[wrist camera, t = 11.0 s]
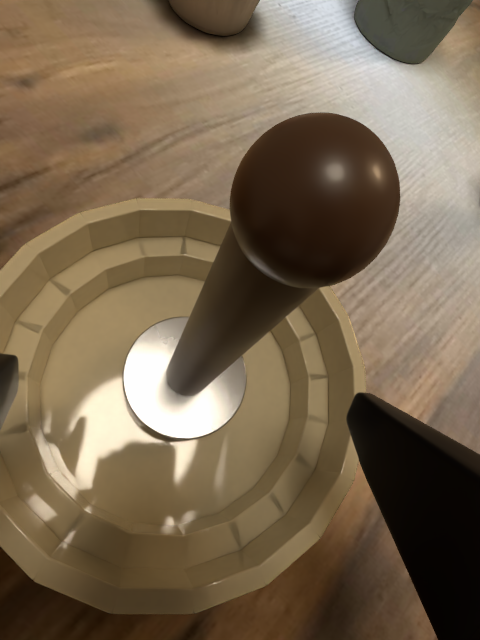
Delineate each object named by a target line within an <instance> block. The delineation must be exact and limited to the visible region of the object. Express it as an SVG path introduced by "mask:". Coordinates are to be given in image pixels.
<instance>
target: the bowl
mask: <svg viewBox="0 0 480 640" xmlns="http://www.w3.org/2000/svg"><path fill="white" fill-rule="evenodd" d="M230 223H231V216H230V210H228V209H224V208H221V207H217V206H214V205H210V204H206V203H203V202H199V201H196V200H190V199H166V198H136V199H130V200H126V201H122V202H118V203H115V204H111V205H107V206H103V207H99V208H95V209H91V210H87V211H83V212H80V213H77V214H75V215H74V216H72V217H70V218H68V219H67V220H65V221H63V222H62V223H60V224H58V225H56V226H55V227H53V228H51V229H50V230H48V231H46V232H44V233H43V234H41V235H39V236H37V237H36V238H34V239H32V240H31V241H29V242H27V243H26V245H25V244H24V245H23V246H22V247H21V248H20V249H19V250H18V251H17V253H16V254H15V255H14V256H13V257H12V258H11V259H10V260H9V261H8V262H7V264H6V265H5V266H4V267H3V268H2V269H1V270H0V353H2V354H11V355H16V356H17V357H18V361H19V385H18V391H17V395H16V397H15V399H14V401H13V404H12V406H11V408H10V410H9V412H8V415H7V417H6V419H5V421H4V424H3V426H2V428H1V430H0V547H1V548H2V549H3V550H4V551H5V552H6V553H7V554H8V555H9V556H10V557H11V558H12V560H13V561H14V562H15V563H16V564H17V565H18V566H19V567H20V568H21V569H22V570H23V571H24V572H25V573H26V574H27V575H28V576H29V577H30V579H34V582H36V583H38V584H40V585H43V586H45V587H47V588H50V589H52V590H55V591H57V592H59V593H62V594H64V595H66V596H69V597H71V598H73V599H76V600H78V601H81V602H83V603H85V604H88V605H90V606H92V607H95V608H97V609H100V610H102V611H104V612H107V613H109V614H111V613H112V614H193V613H194V614H196V613H199V612H201V611H204V610H206V609H209V608H211V607H214V606H217V605H219V604H222V603H224V602H227V601H229V600H232V599H234V598H237V597H240V596H242V595H245V594H247V593H250V592H252V591H255V590H258V589H260V588H263V587H265V585H268V584H269V583H270V582H272V581H273V580H274V579H275V578H276V577H277V576H278V575H280V574H281V573H282V572H283V571H284V570H285V569H286V568H288V567H289V566H290V565H291V564H292V563H293V562H294V561H296V560H297V559H298V558H299V557H300V556H301V555H302V554H304V553H305V552H306V551H307V550H308V549H309V548H310V547H312V546H313V545H314V544H315V543H316V542H317V541H318V540H319V539H320V538H321V537H322V535H323V533H324V532H325V530H326V528H327V526H328V525H329V523H330V521H331V520H332V518H333V516H334V515H335V513H336V511H337V509H338V508H339V506H340V504H341V503H342V501H343V499H344V498H345V496H346V494H347V492H348V491H349V489H350V487H351V486H352V484H353V481H354V479H355V475H356V470H357V466H358V462H359V458H358V455H357V452H356V449H355V446H354V443H353V440H352V437H351V435H350V432H349V429H348V426H347V422H346V416H347V413H348V410H349V408H350V405H351V403H352V401H353V398H354V396H355V395H356V394H357V393H359V392H363V393H366V375H365V368H364V367H365V365H364V362H363V359H362V356H361V352H360V349H359V346H358V343H357V340H356V337H355V334H354V330H353V327H352V324H351V321H350V318H349V317H348V314H347V312H346V311H345V309H344V308H343V306H342V304H341V303H340V301H339V300H338V298H337V297H336V295H335V293H334V292H333V290H332V289H331V287H330V286H326V287H321V288H319V289H318V290H316V291H315V292H314V293H313V294H312V295H311V296H310V297H308V298H307V299H306V300H305V301H304V302H303V303H302V304H300V305H299V306H298V307H297V308H296V309H295V310H294V311H292V312H291V313H290V314H289V315H288V316H287V317H285V318H284V319H283V320H282V321H281V322H280V323H279V324H277V325H276V326H275V327H274V328H273V329H272V330H271V331H269V332H268V333H267V334H266V335H265V336H264V337H263V338H261V339H260V340H259V341H258V342H257V343H256V344H255V345H253V346H252V347H251V348H250V349H249V350H248V351H247V352H245V353H244V354H243V355H242V356H243V359H244V362H245V366H246V373H247V384H246V391H245V395H244V398H243V401H242V403H241V406H240V407H239V409H238V411H237V412H236V414H235V415H234V416H233V418H232V419H231V420H230V421H229V422H228V423H227V424H226V425H225V426H223V427H222V428H221V429H219V430H218V431H216V432H214V433H212V434H210V435H208V436H205V437H202V438H198V439H194V440H188V441H172V440H166V439H163V438H160V437H157V436H155V435H153V434H151V433H150V432H148V431H147V430H145V429H144V428H143V427H142V426H141V425H140V424H139V423H138V422H137V421H136V420H135V419H134V417H133V416H132V414H131V413H130V411H129V409H128V407H127V404H126V401H125V397H124V392H123V382H122V374H123V366H124V362H125V359H126V356H127V354H128V351H129V349H130V348H131V346H132V344H133V343H134V341H135V340H136V339H137V338H138V337H139V336H140V335H141V334H142V333H143V332H144V331H145V330H146V329H148V328H149V327H150V326H152V325H154V324H156V323H158V322H160V321H163V320H165V319H169V318H173V317H190V314H191V312H192V310H193V307H194V305H195V303H196V301H197V298H198V296H199V294H200V292H201V289H202V287H203V285H204V282H205V280H206V278H207V276H208V273H209V271H210V269H211V266H212V264H213V262H214V260H215V257H216V255H217V253H218V251H219V248H220V246H221V244H222V241H223V239H224V237H225V235H226V232H227V230H228V228H229V225H230Z"/></svg>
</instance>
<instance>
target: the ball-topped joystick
mask: <svg viewBox="0 0 480 640" xmlns="http://www.w3.org/2000/svg"><path fill="white" fill-rule="evenodd" d="M399 205H400V184H399V178H398V173H397V170H396V167H395V163H394V161H393V159H392V157H391V155H390V153H389V151H388V150H387V148H386V147H385V145H384V144H383V142H382V141H381V140H380V139H379V138H378V137H377V135H376V134H375V133H373V132H372V131H371V130H370V129H369V128H367V127H366V126H364V125H363V124H361V123H360V122H358V121H356V120H354V119H351V118H349V117H345V116H342V115H339V114H334V113H307V114H303V115H298V116H295V117H292V118H289V119H287V120H285V121H283V122H281V123H279V124H277V125H275V126H274V127H272V128H271V129H269V130H268V131H267V132H265V133H264V134H263V135H262V136H261V137H260V138H259V139H258V140H257V141H256V142H255V143H254V144H253V145H252V146H251V147H250V149H249V150H248V151H247V153H246V154H245V156H244V158H243V159H242V161H241V163H240V165H239V167H238V169H237V172H236V174H235V177H234V180H233V184H232V189H231V195H230V216H231V223H230V225H229V228H228V230H227V232H226V235H225V237H224V239H223V241H222V244H221V246H220V248H219V251H218V253H217V255H216V257H215V260H214V262H213V264H212V266H211V269H210V271H209V273H208V276H207V278H206V280H205V282H204V285H203V287H202V289H201V292H200V294H199V296H198V298H197V301H196V303H195V305H194V307H193V310H192V312H191V314H190V317H173V318H169V319H165V320H163V321H160V322H158V323H156V324H154V325H152V326H150V327H149V328H148V329H146V330H145V331H144V332H143V333H142V334H141V335H140V336H139V337H138V338H137V339H136V340H135V341H134V343H133V344H132V346H131V348H130V349H129V351H128V354H127V356H126V359H125V362H124V366H123V374H122V382H123V392H124V397H125V401H126V404H127V407H128V409H129V411H130V413H131V414H132V416H133V417H134V419H135V420H136V421H137V422H138V423H139V424H140V425H141V426H142V427H143V428H144V429H145V430H147V431H148V432H150V433H151V434H153V435H155V436H157V437H160V438H163V439H166V440H172V441H188V440H194V439H198V438H202V437H205V436H208V435H210V434H212V433H214V432H216V431H218V430H219V429H221V428H222V427H223V426H225V425H226V424H227V423H228V422H229V421H230V420H231V419H232V418H233V416H234V415H235V414H236V412H237V411H238V409H239V407H240V406H241V403H242V401H243V398H244V395H245V391H246V384H247V373H246V366H245V362H244V359H243V356H242V355H243V354H244V353H245V352H247V351H248V350H249V349H250V348H251V347H252V346H253V345H255V344H256V343H257V342H258V341H259V340H260V339H261V338H263V337H264V336H265V335H266V334H267V333H268V332H269V331H271V330H272V329H273V328H274V327H275V326H276V325H277V324H279V323H280V322H281V321H282V320H283V319H284V318H285V317H287V316H288V315H289V314H290V313H291V312H292V311H294V310H295V309H296V308H297V307H298V306H299V305H300V304H302V303H303V302H304V301H305V300H306V299H307V298H308V297H310V296H311V295H312V294H313V293H314V292H315V291H316V290H318V289H319V288H321V287H326V286H331V285H334V284H337V283H340V282H342V281H344V280H347V279H349V278H351V277H353V276H354V275H356V274H357V273H359V272H360V271H362V270H363V269H365V268H366V267H367V266H368V265H369V264H370V263H371V262H372V261H373V260H374V259H375V258H376V257H377V256H378V254H379V253H380V252H381V250H382V249H383V248H384V246H385V245H386V243H387V241H388V239H389V238H390V236H391V234H392V231H393V229H394V226H395V223H396V220H397V216H398V212H399Z"/></svg>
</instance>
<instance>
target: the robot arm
mask: <svg viewBox="0 0 480 640" xmlns="http://www.w3.org/2000/svg"><path fill="white" fill-rule="evenodd" d="M18 385H19V361H18V357H17V356H16V355H11V354H2V353H0V430H1V428H2V426H3V424H4V421H5V419H6V417H7V415H8V412H9V410H10V408H11V406H12V404H13V401H14V399H15V397H16V395H17V391H18ZM346 422H347V426H348V429H349V432H350V435H351V437H352V440H353V443H354V446H355V449H356V452H357V455H358V458H359V461H360V464H361V467H362V470H363V472H364V474H365V477H366V479H367V481H368V483H369V486H370V488H371V490H372V492H373V495H374V497H375V499H376V501H377V504H378V506H379V508H380V510H381V513H382V515H383V517H384V519H385V522H386V524H387V526H388V528H389V531H390V533H391V535H392V537H393V539H394V542H395V544H396V546H397V548H398V551H399V553H400V555H401V557H402V560H403V562H404V564H405V566H406V569H407V571H408V573H409V575H410V578H411V580H412V582H413V584H414V587H415V589H416V591H417V593H418V595H419V598H420V600H421V602H422V604H423V607H424V609H425V611H426V613H427V616H428V618H429V620H430V622H431V625H432V627H433V629H434V631H435V634H436V636H437V638H438V640H480V454H478V453H476V452H474V451H473V450H471V449H469V448H467V447H465V446H464V445H462V444H460V443H458V442H456V441H455V440H453V439H451V438H449V437H448V436H446V435H444V434H442V433H440V432H439V431H437V430H435V429H433V428H432V427H430V426H428V425H426V424H424V423H423V422H421V421H419V420H417V419H416V418H414V417H412V416H410V415H408V414H407V413H405V412H403V411H401V410H400V409H398V408H396V407H394V406H392V405H391V404H389V403H387V402H385V401H384V400H382V399H380V398H378V397H376V396H375V395H373V394H370V393H363V392H359V393H357V394H356V395H355V396H354V398H353V401H352V403H351V405H350V408H349V410H348V413H347V416H346Z"/></svg>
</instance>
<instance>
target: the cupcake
mask: <svg viewBox="0 0 480 640" xmlns="http://www.w3.org/2000/svg"><path fill="white" fill-rule="evenodd" d="M259 1H260V0H169V2H170V5H171V7H172V8H173V10H174V11H175V12H176V13H177V15H178V16H179V17H181V18H182V19H183V20H184V21H185V22H187V23H188V24H190V25H191V26H193V27H195V28H197V29H199V30H201V31H203V32H206V33H210V34H214V35H220V36H229V35H234V34H237V33H239V32H241V31H242V30H243V29H244V27H245V26H246V25H247V24H248V22H249V20H250V18H251V16H252V14H253V12H254V10H255V8H256V6H257V5H258V3H259Z"/></svg>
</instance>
